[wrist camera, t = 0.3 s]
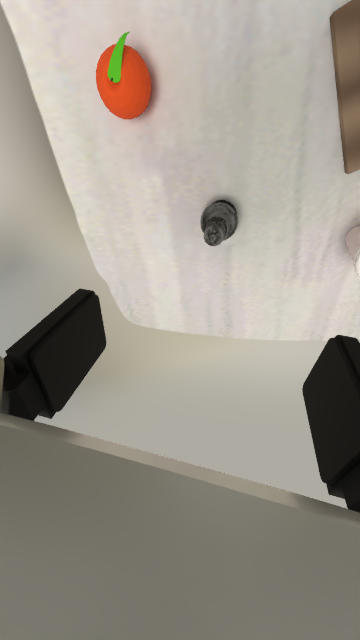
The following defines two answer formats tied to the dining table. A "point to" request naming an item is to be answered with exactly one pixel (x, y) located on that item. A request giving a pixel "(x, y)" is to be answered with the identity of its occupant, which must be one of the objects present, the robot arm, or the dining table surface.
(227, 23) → the dining table surface
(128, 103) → the clementine
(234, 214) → the chess piece
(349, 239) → the smoothie
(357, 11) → the socket block
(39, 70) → the dining table surface
